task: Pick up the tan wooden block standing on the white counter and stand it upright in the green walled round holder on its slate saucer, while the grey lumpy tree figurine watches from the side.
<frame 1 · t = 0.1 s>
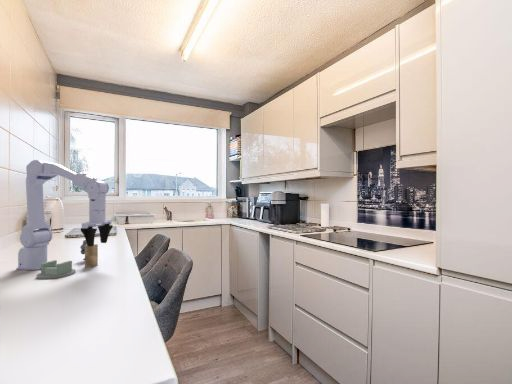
hand: (97, 244, 113), 10 cm above the table, fingers open, 7 cm apart
tan wooden block: (91, 266, 118), on the table
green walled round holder: (56, 274, 106), on the table
grey lumpy tree figurine: (87, 261, 128), on the table
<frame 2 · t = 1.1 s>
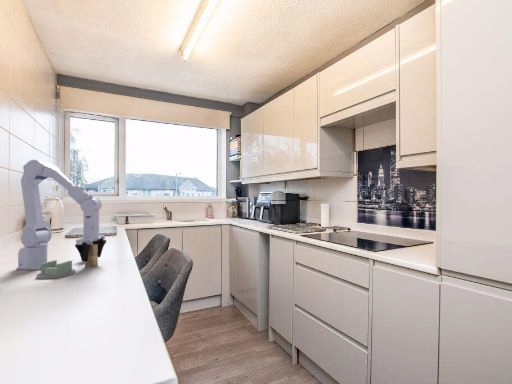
hand: (91, 259, 118), 3 cm above the table, fingers open, 7 cm apart
nothing on the table moved.
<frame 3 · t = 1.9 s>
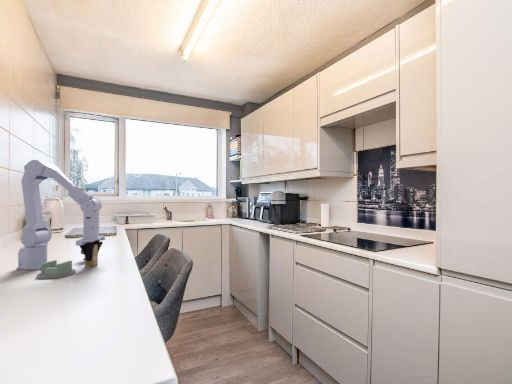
hand: (91, 259, 118), 3 cm above the table, fingers closed on tan wooden block, 2 cm apart
tan wooden block: (91, 266, 118), on the table, touching gripper
everything else where it was.
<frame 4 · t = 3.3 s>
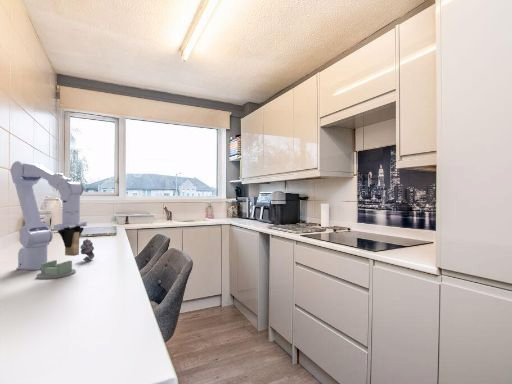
hand: (71, 246, 111), 10 cm above the table, fingers closed on tan wooden block, 2 cm apart
tan wooden block: (72, 254, 111), point 6 cm above the table, touching gripper
everything else where it was.
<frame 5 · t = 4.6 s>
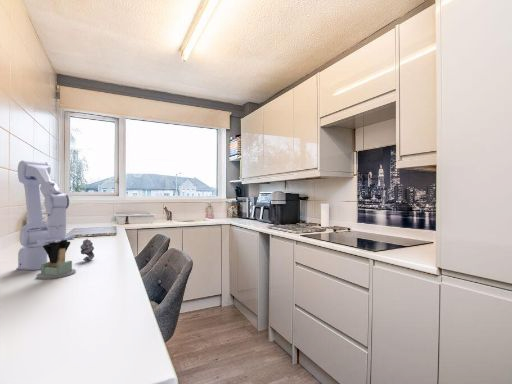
hand: (56, 262, 106), 5 cm above the table, fingers closed on tan wooden block, 2 cm apart
tan wooden block: (57, 272, 106), point 1 cm above the table, touching gripper
everything else where it was.
when the fingers open (4 cm above the table, at t = 5.1 s): tan wooden block stays where it is, resting on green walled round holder.
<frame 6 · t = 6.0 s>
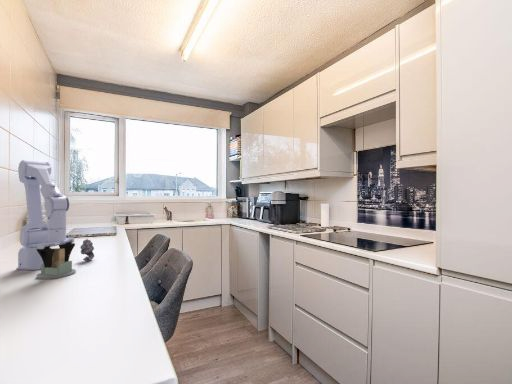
hand: (56, 264, 106), 4 cm above the table, fingers open, 7 cm apart
tan wooden block: (57, 272, 106), point 1 cm above the table, touching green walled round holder
everything else where it was.
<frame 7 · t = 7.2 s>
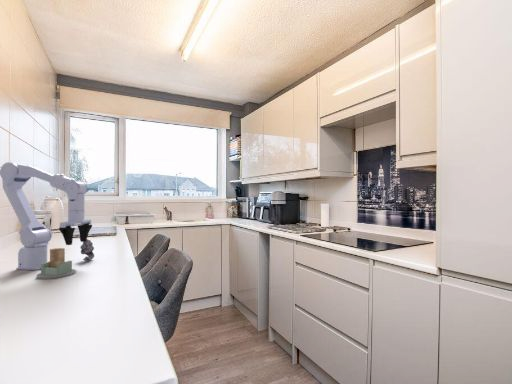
hand: (76, 243, 117), 10 cm above the table, fingers open, 7 cm apart
nothing on the table moved.
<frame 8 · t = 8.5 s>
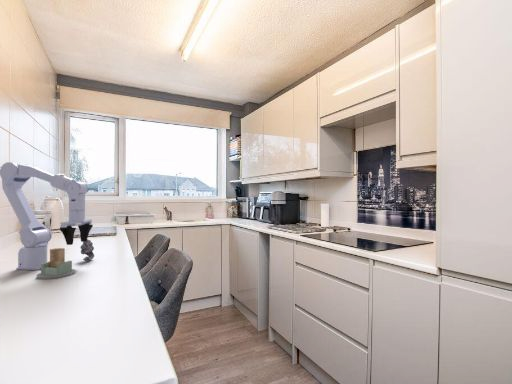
hand: (76, 243, 117), 10 cm above the table, fingers open, 7 cm apart
nothing on the table moved.
at the end: tan wooden block 0.2 cm from the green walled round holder (horizontally); tan wooden block point 0.6 cm above the table; tan wooden block tilted 0° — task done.
